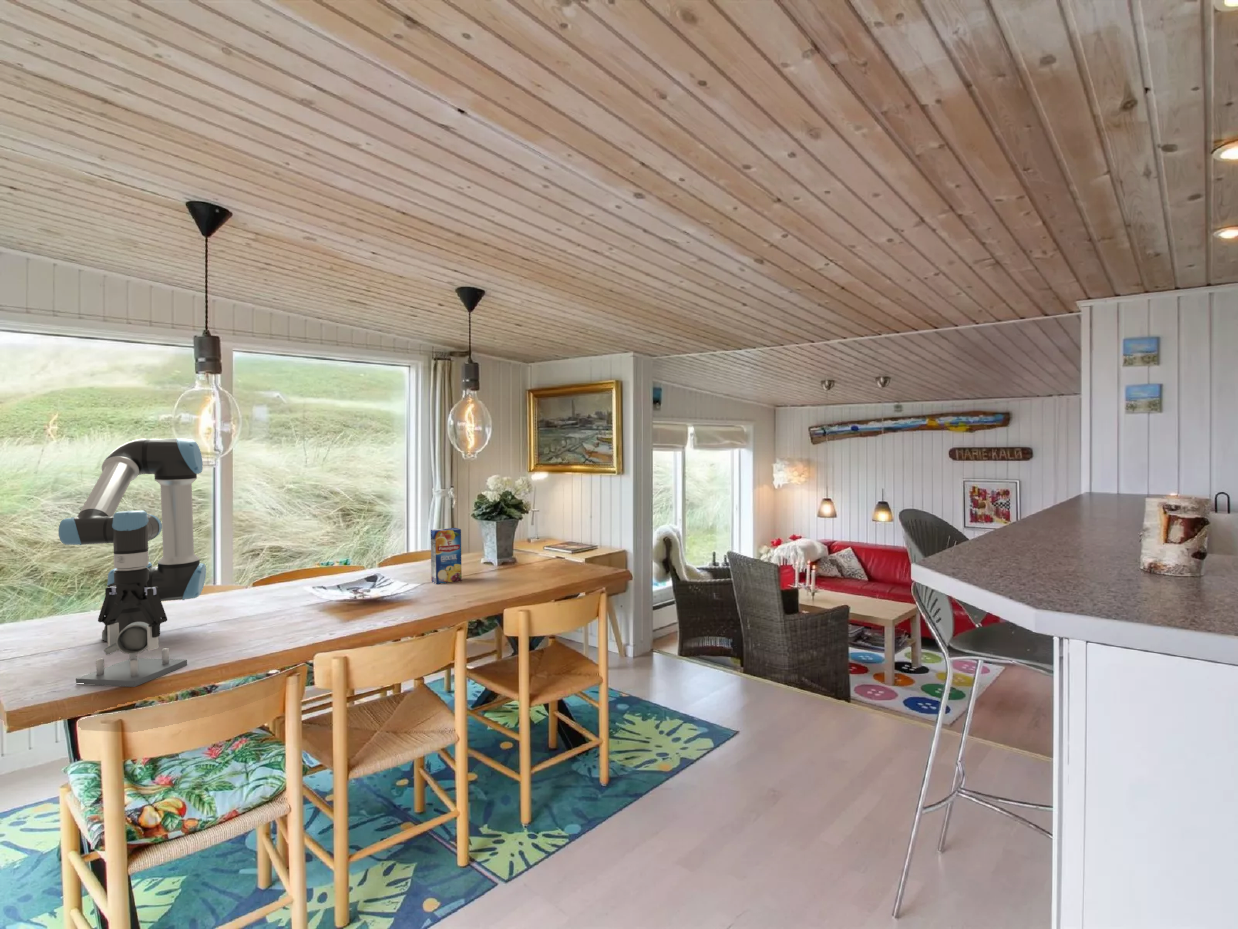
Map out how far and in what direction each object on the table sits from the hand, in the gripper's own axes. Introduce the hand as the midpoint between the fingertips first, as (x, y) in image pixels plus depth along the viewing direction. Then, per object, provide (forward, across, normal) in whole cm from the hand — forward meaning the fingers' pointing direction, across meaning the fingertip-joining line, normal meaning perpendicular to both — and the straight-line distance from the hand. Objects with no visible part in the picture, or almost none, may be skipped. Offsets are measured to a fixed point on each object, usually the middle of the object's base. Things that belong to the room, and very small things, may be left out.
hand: (133, 648), depth 174 cm
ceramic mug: (+1, 0, 0) cm, 1 cm away
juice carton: (+7, +36, +128) cm, 133 cm away
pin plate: (+7, 0, 0) cm, 7 cm away
